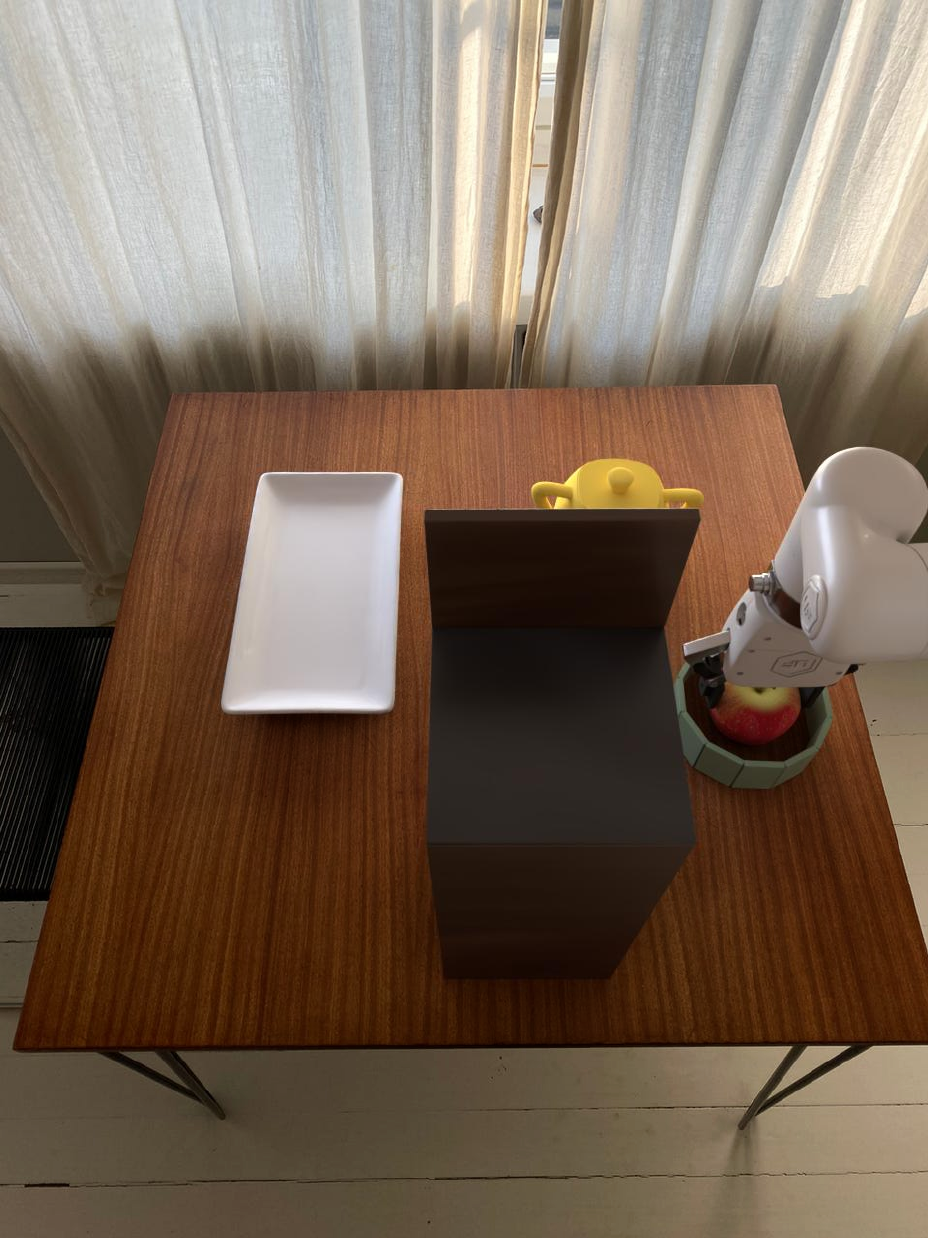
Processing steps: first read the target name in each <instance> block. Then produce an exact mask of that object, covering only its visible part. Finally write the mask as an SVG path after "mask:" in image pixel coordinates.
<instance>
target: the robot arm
mask: <svg viewBox="0 0 928 1238" xmlns="http://www.w3.org/2000/svg"><path fill="white" fill-rule="evenodd" d="M798 505H799V506H798V508H797V510H796V512H795V514H794V516H793V518H792V520H791V522H790V524H789V527H788V529H787V531H786V533H785V535H784V537H783V539H782V542H781V544H780V546H779V548H778V550H777V552H776V554H775V556H774V558H773V559H772V560H770V562H769V564H768V566H767V568H766V570H765V571H763V572H762V573H761V572H760V573H759V574H750V575H749V578H748V588H747V590H746V591H745V592H744V594H742V596H741V597H740V599H739V600H738V601H737V603H736V604H735V606H734V607H733V609H732V611H731V612H730V614H729V616H728V617H727V619H726V621H725V623H724V625H723V627H722V629H721V631H720V632H718V633H715V634H711V635H708V636H705V637H702V638H698V639H695V640H692V641H689V642H686V643H683V644H682V646H681V649H682V656H683V660H684V661H685V662H687V663H688V664H689V665H690V666H692V667H693V670H694V672H695V673H696V674H695V675H698V676H699V677H700V679H699V681H698V689H699V694H700V697H705V702H706V707H707V709H708V710H709V709H714V708H715V707H717V705H718V703H719V701H720V699H721V697H722V695H723V693H724V691H725V684H724V683H725V682H729V683H731V684H733V685H736V686H742V687H798V688H799V692H800V697H801V708H803V709H810V708H811V707H812V705H813V704H814V702H815V701H816V699H817V698H818V697H819V696H820V694H821V693H822V691H823V690H824V688H825V687H827V688H830V687H834V686H836V685H837V683H838V682H839V681H840V680H841V679H842V678H843V677H844V676H848V675H851V674H854V673H856V672H857V671H858V670H859V667H860V666H862V667H863V666H865V665H867V664H883V663H901V662H902V663H904V662H912V661H914V662H915V661H928V542H919V543H918V542H917V543H916V542H914V543H910V541H911V540H912V539H913V536H914V535H915V534H916V532H917V531H918V529H919V528H920V526H921V524H922V523H923V521H924V518H925V517H926V515H927V513H928V486H927V483H926V481H925V479H924V477H923V475H922V474H921V472H920V471H919V470H918V469H917V468H916V467H915V465H913V464H912V463H910V462H909V461H908V460H906V459H905V458H903V457H901V456H899V455H898V454H896V453H894V452H892V451H888V450H886V449H882V448H877V447H870V446H856V447H850V448H846V449H843V450H840V451H838V452H836V453H834V454H833V455H831V456H829V457H828V458H826V459H825V460H824V461H823V462H822V463H821V465H819V466H818V467H817V470H816V471H815V472H814V474H813V476H812V478H811V480H810V482H809V484H808V486H807V488H806V491H805V493H804V495H803V497H802V499H801V501H800V503H799V504H798ZM723 660H724V664H721V663H720V662H721V661H723ZM722 665H723V666H722ZM722 668H723V670H722Z"/></svg>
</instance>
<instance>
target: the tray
mask: <svg viewBox="0 0 928 1238" xmlns="http://www.w3.org/2000/svg"><path fill="white" fill-rule="evenodd" d="M403 492H404V478H403V476H402V475H401V474H400V473H397V472H387V471H386V472H384V471H383V472H382V471H381V472H380V471H378V472H377V471H376V472H373V471H370V472H369V471H367V472H365V471H363V472H361V471H360V472H359V471H358V472H328V471H327V472H321V471H319V472H301V471H300V472H299V471H297V472H295V471H294V472H292V471H291V472H289V471H284V472H282V471H281V472H280V471H279V472H277V471H276V472H275V471H274V472H265V473H263V474H262V475H260V477H259V480H258V484H257V487H256V492H255V497H254V502H253V507H252V513H251V518H250V524H249V530H248V536H247V542H246V548H245V552H244V553H245V554H244V559H243V565H242V571H241V576H240V583H239V589H238V595H237V601H236V608H235V614H234V621H233V627H232V634H231V640H230V644H229V645H230V646H229V652H228V658H227V665H226V668H225V669H226V670H225V676H224V682H223V688H222V694H221V699H220V708H221V711H222V712H223V713H225V714H227V715H281V714H283V715H284V714H285V715H286V714H287V715H288V714H354V715H355V714H360V715H361V714H363V715H365V714H366V715H381V714H382V715H383V714H389V713H390V712H391V711H393V709H394V706H395V700H396V699H395V697H396V676H397V675H396V674H397V673H396V672H397V671H396V669H397V644H398V643H397V642H398V621H399V620H398V618H399V596H400V595H399V593H400V590H399V589H400V565H401V535H402V534H401V533H402V532H401V531H402V530H401V529H402V510H403V494H404V493H403Z"/></svg>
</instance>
